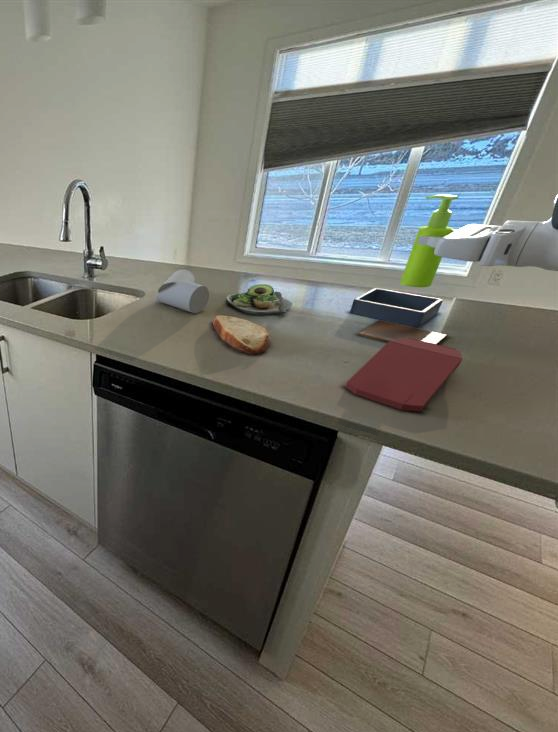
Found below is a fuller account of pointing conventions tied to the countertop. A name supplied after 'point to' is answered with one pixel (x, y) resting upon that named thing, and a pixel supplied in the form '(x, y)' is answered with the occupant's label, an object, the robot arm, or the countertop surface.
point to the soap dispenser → (428, 247)
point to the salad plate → (259, 301)
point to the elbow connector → (183, 292)
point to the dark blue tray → (407, 311)
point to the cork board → (400, 333)
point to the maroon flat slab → (405, 373)
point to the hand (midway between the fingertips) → (425, 236)
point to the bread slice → (242, 334)
